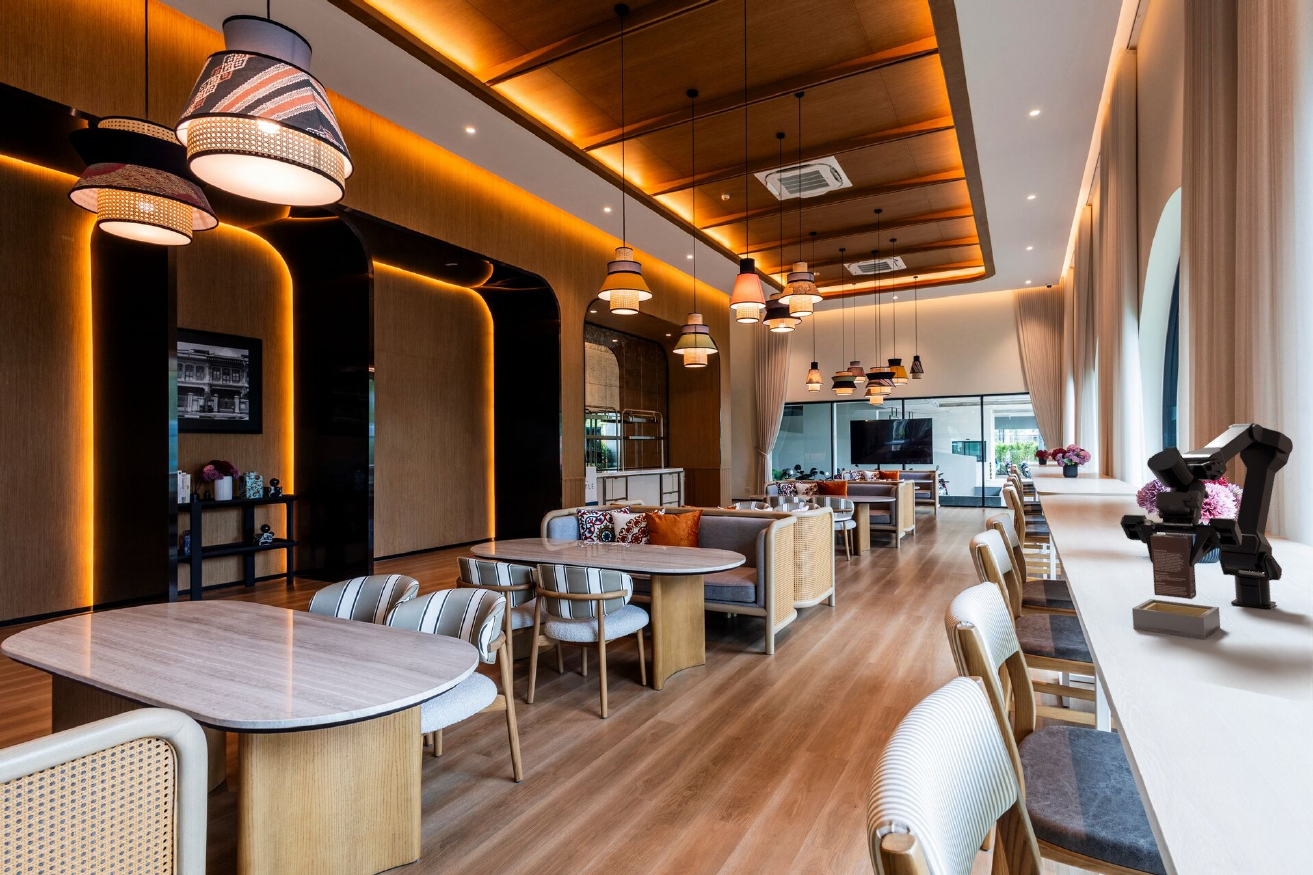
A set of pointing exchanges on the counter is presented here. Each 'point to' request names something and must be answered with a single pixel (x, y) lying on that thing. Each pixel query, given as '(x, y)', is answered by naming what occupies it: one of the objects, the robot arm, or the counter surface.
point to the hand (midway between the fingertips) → (1171, 563)
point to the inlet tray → (1176, 618)
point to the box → (1173, 566)
